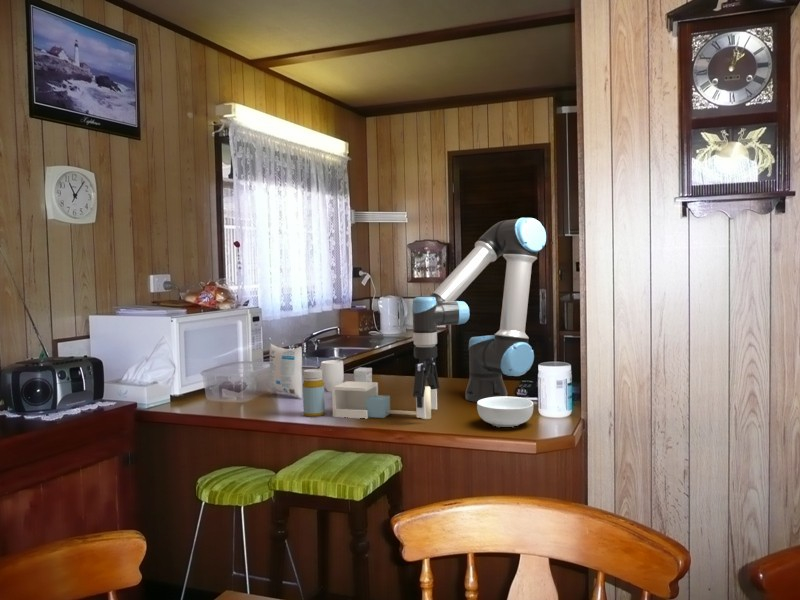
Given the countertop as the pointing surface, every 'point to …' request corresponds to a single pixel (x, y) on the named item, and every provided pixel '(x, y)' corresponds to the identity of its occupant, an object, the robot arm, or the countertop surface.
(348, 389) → the cubby shelf
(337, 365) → the mug
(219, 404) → the countertop surface
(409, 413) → the toy mallet
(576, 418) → the countertop surface
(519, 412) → the cereal bowl
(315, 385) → the bottle
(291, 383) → the pouch
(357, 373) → the ink box
